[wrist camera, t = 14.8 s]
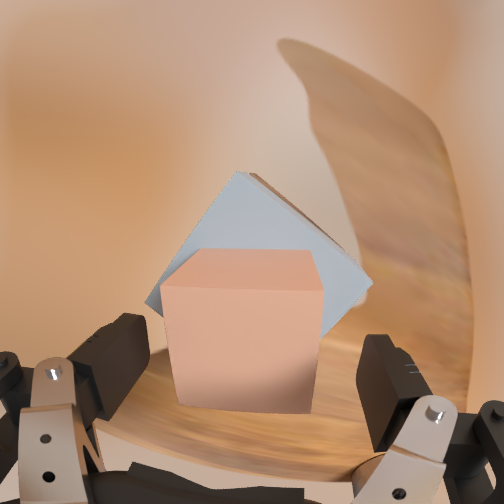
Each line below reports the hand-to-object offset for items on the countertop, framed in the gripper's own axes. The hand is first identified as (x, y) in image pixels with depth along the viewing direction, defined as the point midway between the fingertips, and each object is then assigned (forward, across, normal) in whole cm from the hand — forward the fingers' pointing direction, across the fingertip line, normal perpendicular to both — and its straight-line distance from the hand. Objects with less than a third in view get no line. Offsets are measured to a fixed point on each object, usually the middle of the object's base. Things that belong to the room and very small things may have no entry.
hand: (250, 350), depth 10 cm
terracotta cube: (+6, 0, 0) cm, 6 cm away
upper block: (+10, 0, 0) cm, 10 cm away
